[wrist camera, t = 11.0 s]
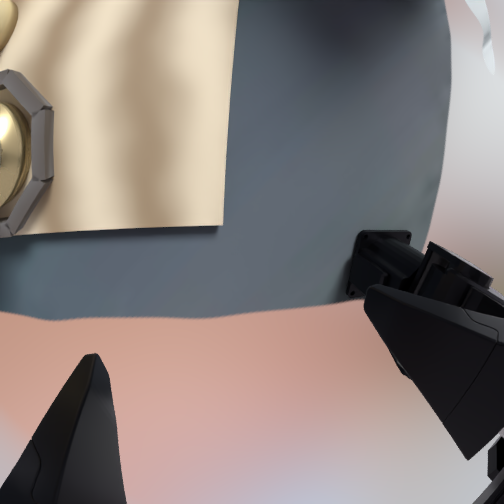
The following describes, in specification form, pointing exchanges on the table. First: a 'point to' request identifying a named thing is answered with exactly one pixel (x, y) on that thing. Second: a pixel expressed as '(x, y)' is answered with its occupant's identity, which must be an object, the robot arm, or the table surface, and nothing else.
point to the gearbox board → (119, 111)
